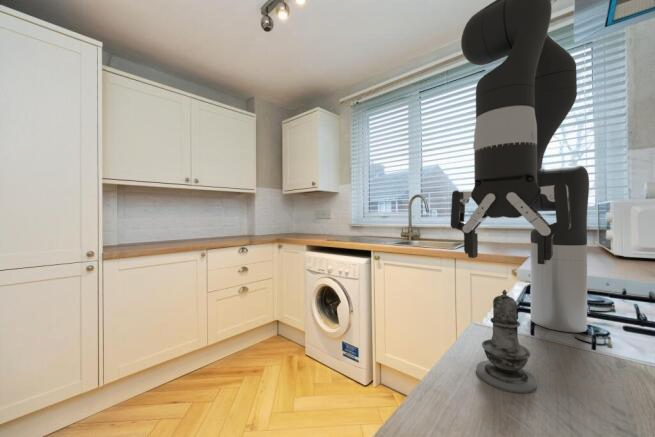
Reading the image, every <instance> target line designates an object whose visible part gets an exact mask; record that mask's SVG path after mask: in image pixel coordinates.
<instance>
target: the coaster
mask: <svg viewBox="0 0 655 437" xmlns="http://www.w3.org/2000/svg"><path fill="white" fill-rule="evenodd" d="M488 363H491V362H490V361H489V360H488V359H487V360H482V361H480V362H478V363H477V364H476V374H477V377H479V378H480V379H481V380H482V381H483V382H485V383H486V384H488V385H490V386H492V387H494V388H497V389H499V390H502V391H504V392H505V391H506V392H510V393H514V394H515V393H516V394H528V393H531V392H534V391H535V390H536V389H537V380H536V377H535V376H534V375H533V374H532V373H531V372H530V371H528V370H527V369H525V368H524V367H523V368H522V369H521V370H522V371H523V372H525V373H526V375H527V376H528V381H527V382H525V383H523V384H511V383H506V382H502V381H500V380H497V379H495V378H493V377H491V376H490V375H489V374H487V373H486V371H485V369H484V368H485V365H486V364H488Z"/></svg>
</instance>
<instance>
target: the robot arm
mask: <svg viewBox="0 0 655 437" xmlns="http://www.w3.org/2000/svg"><path fill="white" fill-rule="evenodd" d="M556 2H557V0H494V1H493V2H491V3H490V4H487V6H485V7H483V8H482V9H480V10H479V11H477V12H476V13H474V15H472V16H471V17H470V18H469V19H468V21H467V22H466V24H465V26H464V28H463V32H462V35H461V41H460V43H461V44H460V45H461V50H462V54H463V56H464V58H465V59H466V60H467V61H468V62H469V63H471V64H473V65H476V66H485V65H488V64H491V63H493V62H497V61H498V60H501V59H503V58H506V59H504V60H503V62H502V63H500V64H499V65H498V66H496V67H495V68H493V69H491V70H490V71H489V72H487V73H486V74H484V75H483V76H482V77H481V78H480V79H479V80H478V81H477V84H476V87H475V125H474V133H473V135H474V136H473V143H472V144H473V145H472V146H473V153H474V159H473V161H474V166H473V167H474V168H473V169H474V170H473V171H474V186H473V189H472V190H471V191H469V190H467V191H466V190H459V189H458V190H454V191H452V193H451V208H450V209H451V210H450V228H452V229H455V230H459V231H461V232H462V233H463V246H464V247H463V251H464V253H465V254H467V257H468V258H469V259H470V258H471V259H475V258H477V257H478V256H479V255H478V252H479V250H478V245H479V244H478V240H479V239H478V238H479V237H478V235H479V233H478V232H476V230H477V229H478V228H479V227H480V226H481V225H482V223H484V222H485V221H486V219H488V217H489V218H491V219H492V218H493V219H496V218H498V219H499V218H503V217H504V218H509V219H517V218H521V217H524V219H525V220H526V222H529V224H531V225H532V226H533V229H532V230H531V231H530V321H531V322H532V323H534V324H536V325H538V326H540V327H543V328H546V329H550V330H554V331H558V332H565V333H577V334H578V333H583V332H587V330H588V205H589V194H590V179H589V178H590V177H589V172H588V171H587V169H586V167H584V166H583V165H579V164H578V165H566V166H556V167H548V168H543V165H542V164H543V161H544V156H545V153H546V150H547V148H548V145H549V144H550V142H551V140H552V138H553V137H554V135H555V133H556V132H557V130H558V129H559V128H560V126H561V125H562V124H563V122H564V120H565V119H566V118H567V116H568V115H569V113H570V112H571V110H572V108H573V106H574V104H575V102H576V99H577V97H578V96H577V94H578V86H577V85H578V84H577V83H578V82H577V79H578V78H577V76H578V75H577V63H576V60H575V59H574V57H573V55H571V53H570V52H569V51H568V50H566V48H565V47H563V46H562V45H561V44H560V43H559V42H557V41H556V40H555V39H554V38H553V37H552V36H551V35H550V34H548V32H549V29H550V28H549V27H550V24H551V21H552V20H551V18H552V13H553V12H552V9H553V8H552V6H553V4H555V3H556ZM471 199H472V201H473V202H474V203H475V204H476V205H477V207H476V209H475V210H474V211H473V212H472V214H470V216H469V219H468V220H467V221H466V222H465V216H466V215H465V211H466V205H468V204H469V203H470V202H469V201H470V200H471ZM539 212H555V218H556V222H553V223H552V224H551V223H550V224H549V222H547V220H546V219H545V218H544V217H543V216H542V215H541V213H539Z"/></svg>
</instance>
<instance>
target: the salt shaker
mask: <svg viewBox="0 0 655 437" xmlns="http://www.w3.org/2000/svg"><path fill="white" fill-rule="evenodd" d="M501 293H502V294H501V295H498V296H495V297H494V298H493V299H492V301H493V302H492V304H493V305H492V308H493V309H492V310H493V311H492V312H493V313H492V315H493V316H492V317H491V318H490V322H491V323H492V336H491V339H485V340H484V341H482V343H481V346H482V348H483V350H484V354H485V357H486V358H487V360H489V361H490V362H491V363H488V364H486V365H485V368H484V369H485V371H486V373H487V374H489V375H490V376H491V377H493V378H495V379H497V380H500V381H502V382H506V383H511V384H523V383H525V382H527V381H528V376H527V375H526V373H525V372H523V371H522V370H521V369H522V368H523V369H524V368H525V366H526V365H527V363H528V360H529V358H530V357H531V351H530V350H529V349H527V347H525V346H523V345H521V344H520V342H519V336H518V334H519V332H518V331H519V330H518V327H520V326H521V323H520V321H518V316H517V314H518V313H517V312H518V310H517V308H518V307H517V306H518V304H517V301H516V300H515V299H514V298H513V297H511V296H509V295H507V294H508V292H507V290H506V289H503V290H502V291H501Z"/></svg>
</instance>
